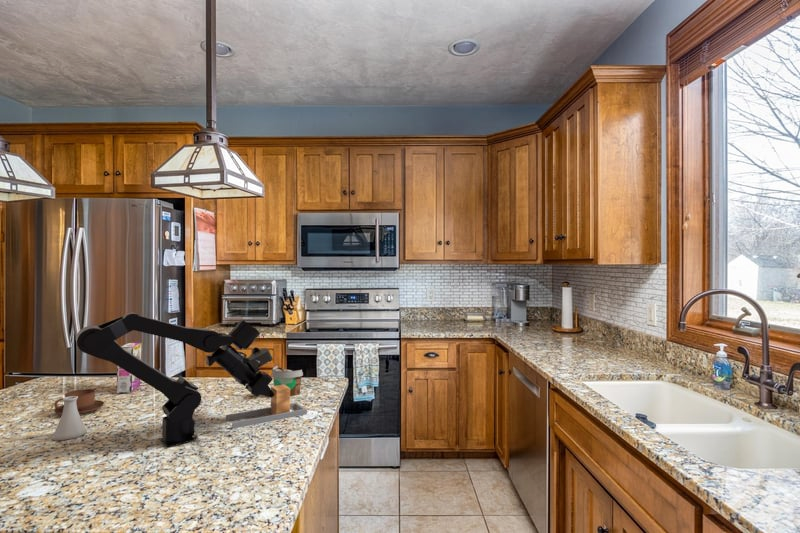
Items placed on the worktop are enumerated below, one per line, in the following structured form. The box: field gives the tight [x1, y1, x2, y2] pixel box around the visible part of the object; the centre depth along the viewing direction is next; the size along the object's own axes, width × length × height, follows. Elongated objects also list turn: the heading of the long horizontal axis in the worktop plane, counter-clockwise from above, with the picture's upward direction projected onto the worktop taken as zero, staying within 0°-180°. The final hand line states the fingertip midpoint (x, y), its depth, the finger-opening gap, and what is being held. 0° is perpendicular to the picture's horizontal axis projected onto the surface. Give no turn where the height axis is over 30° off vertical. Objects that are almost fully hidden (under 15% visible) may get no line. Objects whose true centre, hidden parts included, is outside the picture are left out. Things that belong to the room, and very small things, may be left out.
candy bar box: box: [115, 342, 143, 395], centre depth 152 cm, size 11×5×16 cm, turn 17°
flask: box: [51, 396, 87, 441], centre depth 109 cm, size 7×7×10 cm
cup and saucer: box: [53, 388, 105, 416], centre depth 128 cm, size 12×12×6 cm
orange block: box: [270, 385, 291, 415], centre depth 123 cm, size 4×5×8 cm
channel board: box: [225, 402, 308, 430], centre depth 121 cm, size 21×9×3 cm, turn 125°
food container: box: [270, 365, 304, 397], centre depth 144 cm, size 12×6×10 cm, turn 62°
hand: (272, 395), depth 122 cm, fingers closed, pressing on orange block
